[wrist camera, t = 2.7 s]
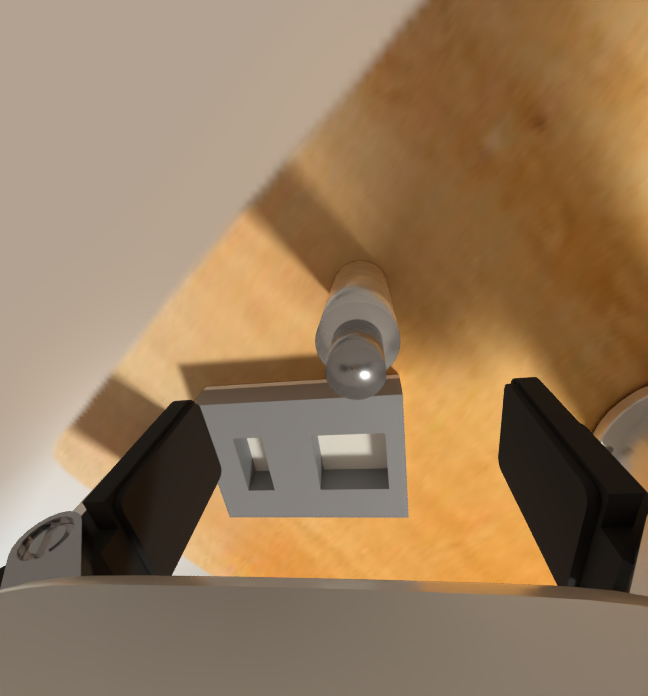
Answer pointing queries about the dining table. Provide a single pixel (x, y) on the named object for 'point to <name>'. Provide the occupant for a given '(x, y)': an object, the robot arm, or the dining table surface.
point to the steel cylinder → (358, 332)
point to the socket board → (308, 449)
